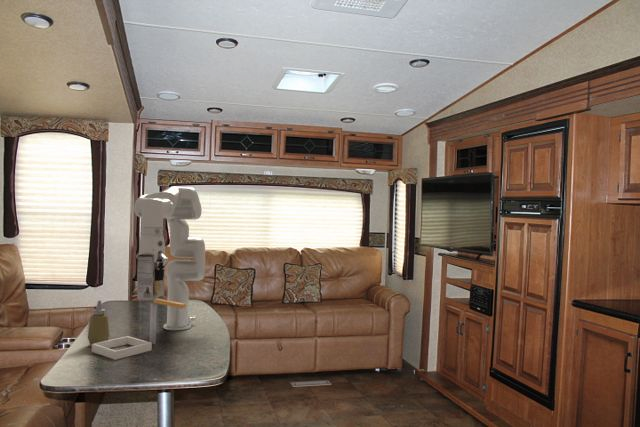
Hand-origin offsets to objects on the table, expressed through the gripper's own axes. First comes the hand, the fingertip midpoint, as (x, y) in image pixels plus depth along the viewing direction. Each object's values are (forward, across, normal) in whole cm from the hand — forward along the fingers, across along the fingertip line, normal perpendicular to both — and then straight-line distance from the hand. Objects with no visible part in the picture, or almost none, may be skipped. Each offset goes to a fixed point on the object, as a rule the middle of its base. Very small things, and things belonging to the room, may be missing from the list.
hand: (150, 279), depth 181 cm
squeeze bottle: (+30, +31, +2) cm, 43 cm away
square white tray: (+30, +17, -3) cm, 34 cm away
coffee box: (+7, 0, 0) cm, 7 cm away
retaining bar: (+13, +8, -14) cm, 20 cm away
